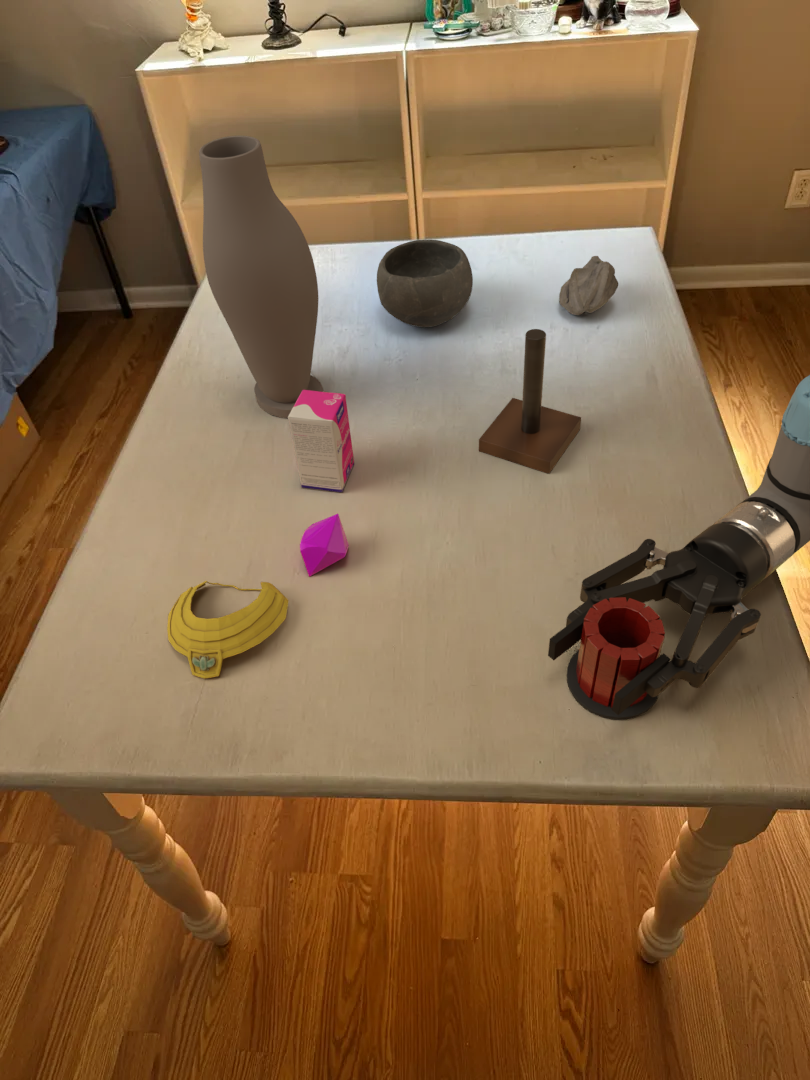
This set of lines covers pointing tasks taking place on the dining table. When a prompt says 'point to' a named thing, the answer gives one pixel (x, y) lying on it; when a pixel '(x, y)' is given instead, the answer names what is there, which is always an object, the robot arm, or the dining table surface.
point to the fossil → (589, 287)
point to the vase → (259, 271)
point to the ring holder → (531, 419)
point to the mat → (599, 708)
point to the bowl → (424, 282)
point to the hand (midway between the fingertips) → (583, 676)
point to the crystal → (323, 544)
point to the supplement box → (321, 440)
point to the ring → (617, 646)
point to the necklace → (223, 628)
